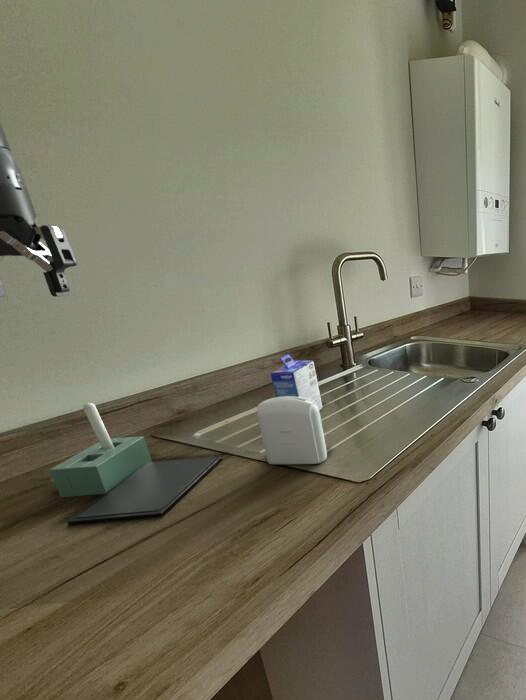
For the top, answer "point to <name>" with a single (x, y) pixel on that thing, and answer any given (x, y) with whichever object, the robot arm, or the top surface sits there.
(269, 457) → the photo printer
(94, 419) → the stylus
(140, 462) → the pen stand
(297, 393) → the ink cartridge box
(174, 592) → the top surface
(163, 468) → the tablet
